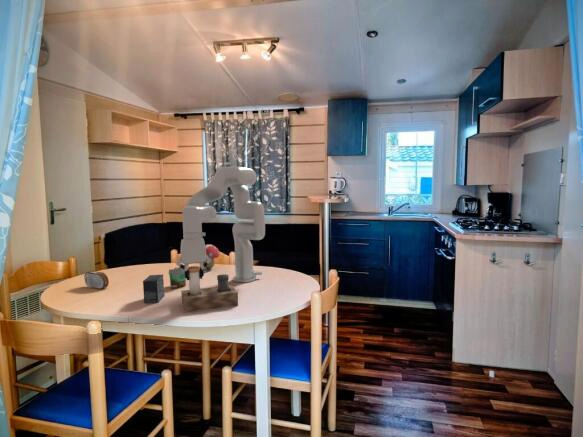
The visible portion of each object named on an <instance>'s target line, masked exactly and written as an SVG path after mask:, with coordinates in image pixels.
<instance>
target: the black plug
mask: <svg viewBox="0 0 583 437" xmlns="http://www.w3.org/2000/svg"><path fill="white" fill-rule="evenodd" d="M216 277H217V279H216V280H217V287H218V292H225V291H228V286H229V278H230V277H229V274H226V273H222V274H218V275H216Z"/></svg>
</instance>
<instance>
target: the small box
mask: <svg viewBox="0 0 583 437" xmlns="http://www.w3.org/2000/svg"><path fill="white" fill-rule="evenodd" d="M142 286H143V287H142V290H143V303H144V304H158V303H160V302H161V301H162V300H163V298H164V297H165V287H164V286H165V284H164V274H151V275H149V276H147V277H146V278H145V279H144V280H143V281H142Z"/></svg>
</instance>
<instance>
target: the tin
mask: <svg viewBox="0 0 583 437" xmlns="http://www.w3.org/2000/svg"><path fill="white" fill-rule="evenodd" d="M83 276H84V283H85V285H86V286H87V287H89V288H90V287H91V288H90V289H97V290H103V289H104V290H105V289H107V287H108V286H109V284H110V283H109V278H108V276H107V274H106V273H105V272H103V271H97V270H90V271H87V272H85V273H84V275H83Z"/></svg>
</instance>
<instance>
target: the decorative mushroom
mask: <svg viewBox="0 0 583 437" xmlns="http://www.w3.org/2000/svg"><path fill="white" fill-rule="evenodd" d="M205 248H206V254H207V256H208V257H209V258H210V259H211V262H210V263H209V264H208V265H207V266H206V267H205V268H204V269H207V270H210V269H212V268H213V267H215V265H216V264H215V259H216V258H217V259H218V258H219V257H220V255H221V254H220V251H219V249H218V247H216V246H215V245H213V244H205ZM206 261H207V259H206ZM206 261H205V262H206ZM203 264H204V262H203Z"/></svg>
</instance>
